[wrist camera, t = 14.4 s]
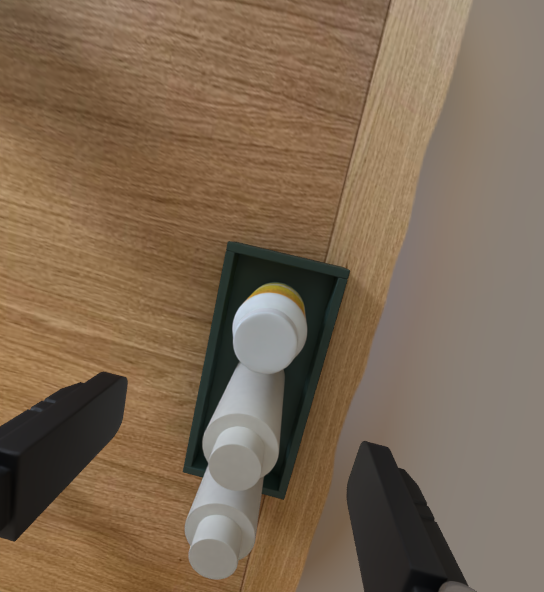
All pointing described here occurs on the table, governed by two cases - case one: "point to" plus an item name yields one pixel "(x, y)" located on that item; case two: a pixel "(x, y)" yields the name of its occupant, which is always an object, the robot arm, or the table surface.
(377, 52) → the table surface
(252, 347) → the supplement bottle
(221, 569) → the white bottles
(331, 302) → the tray
